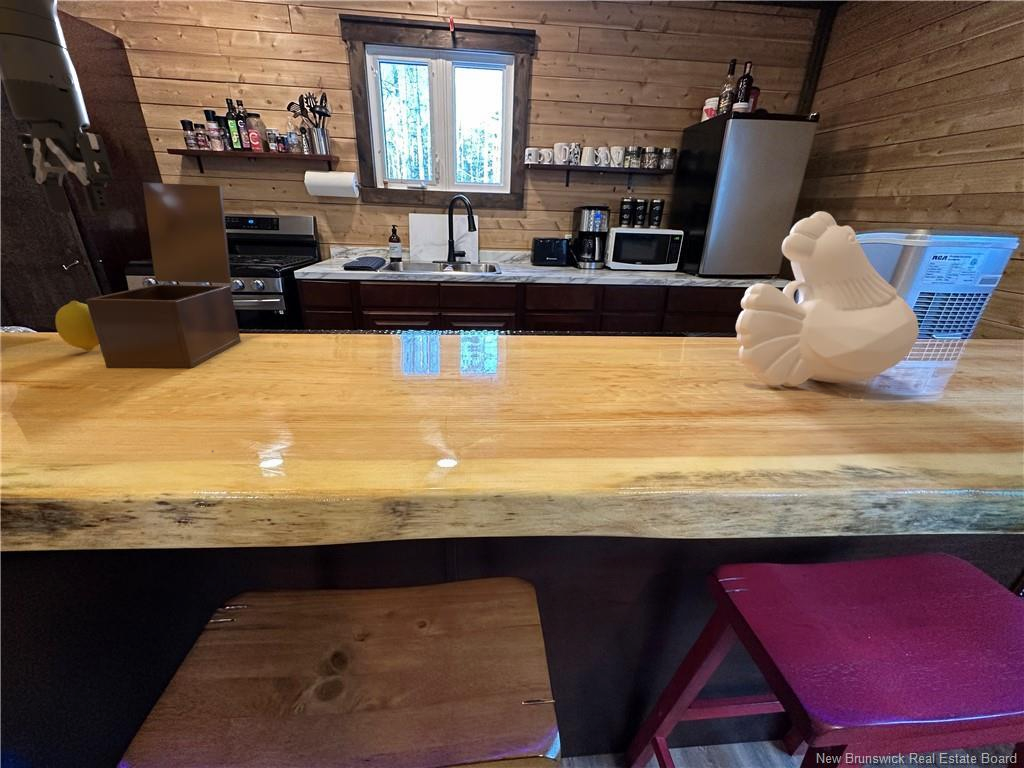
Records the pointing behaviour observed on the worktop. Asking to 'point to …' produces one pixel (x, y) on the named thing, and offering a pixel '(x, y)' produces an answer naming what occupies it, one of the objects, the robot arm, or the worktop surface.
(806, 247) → the decorative rooster
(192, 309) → the chest
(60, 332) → the lemon
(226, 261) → the lid
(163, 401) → the worktop surface
